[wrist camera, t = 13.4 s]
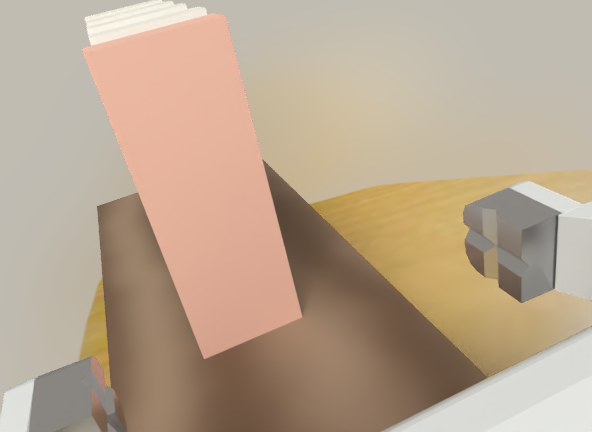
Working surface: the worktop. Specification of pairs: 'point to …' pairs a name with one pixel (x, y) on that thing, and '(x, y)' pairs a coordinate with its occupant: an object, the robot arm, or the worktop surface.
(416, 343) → the domino stand
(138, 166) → the domino
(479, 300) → the worktop surface
